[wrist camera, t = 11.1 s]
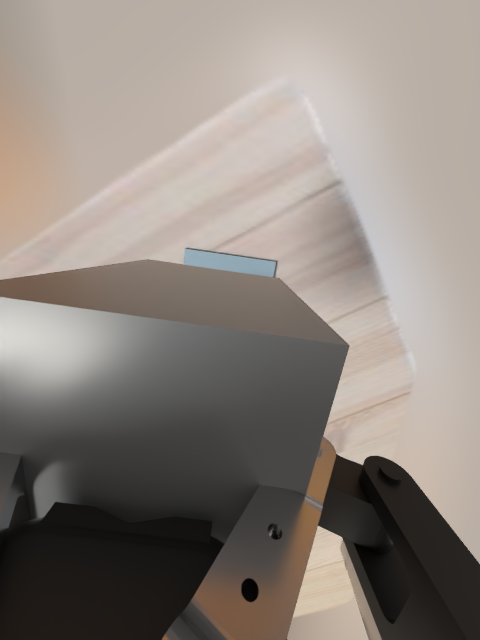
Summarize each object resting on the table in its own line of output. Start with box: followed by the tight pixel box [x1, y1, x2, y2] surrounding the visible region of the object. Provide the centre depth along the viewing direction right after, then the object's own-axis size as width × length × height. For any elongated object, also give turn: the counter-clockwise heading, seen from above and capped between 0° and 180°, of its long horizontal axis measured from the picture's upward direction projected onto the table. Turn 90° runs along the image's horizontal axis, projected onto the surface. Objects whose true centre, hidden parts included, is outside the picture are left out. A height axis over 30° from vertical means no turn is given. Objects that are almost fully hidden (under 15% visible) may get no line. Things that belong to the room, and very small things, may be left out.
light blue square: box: [184, 249, 276, 277], centre depth 28 cm, size 10×10×1 cm
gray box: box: [0, 260, 349, 543], centre depth 10 cm, size 7×10×9 cm
